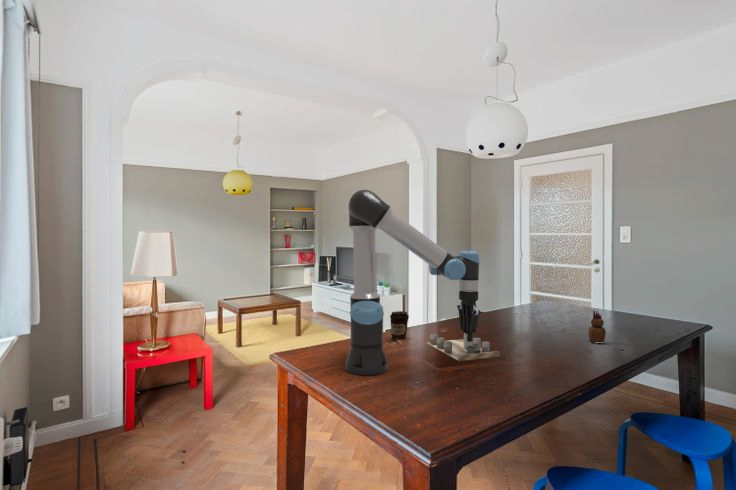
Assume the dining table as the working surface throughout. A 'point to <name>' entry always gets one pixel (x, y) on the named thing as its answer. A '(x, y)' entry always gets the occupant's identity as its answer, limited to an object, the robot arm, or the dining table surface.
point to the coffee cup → (399, 325)
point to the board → (461, 348)
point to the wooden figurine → (597, 329)
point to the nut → (473, 349)
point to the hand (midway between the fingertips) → (467, 349)
